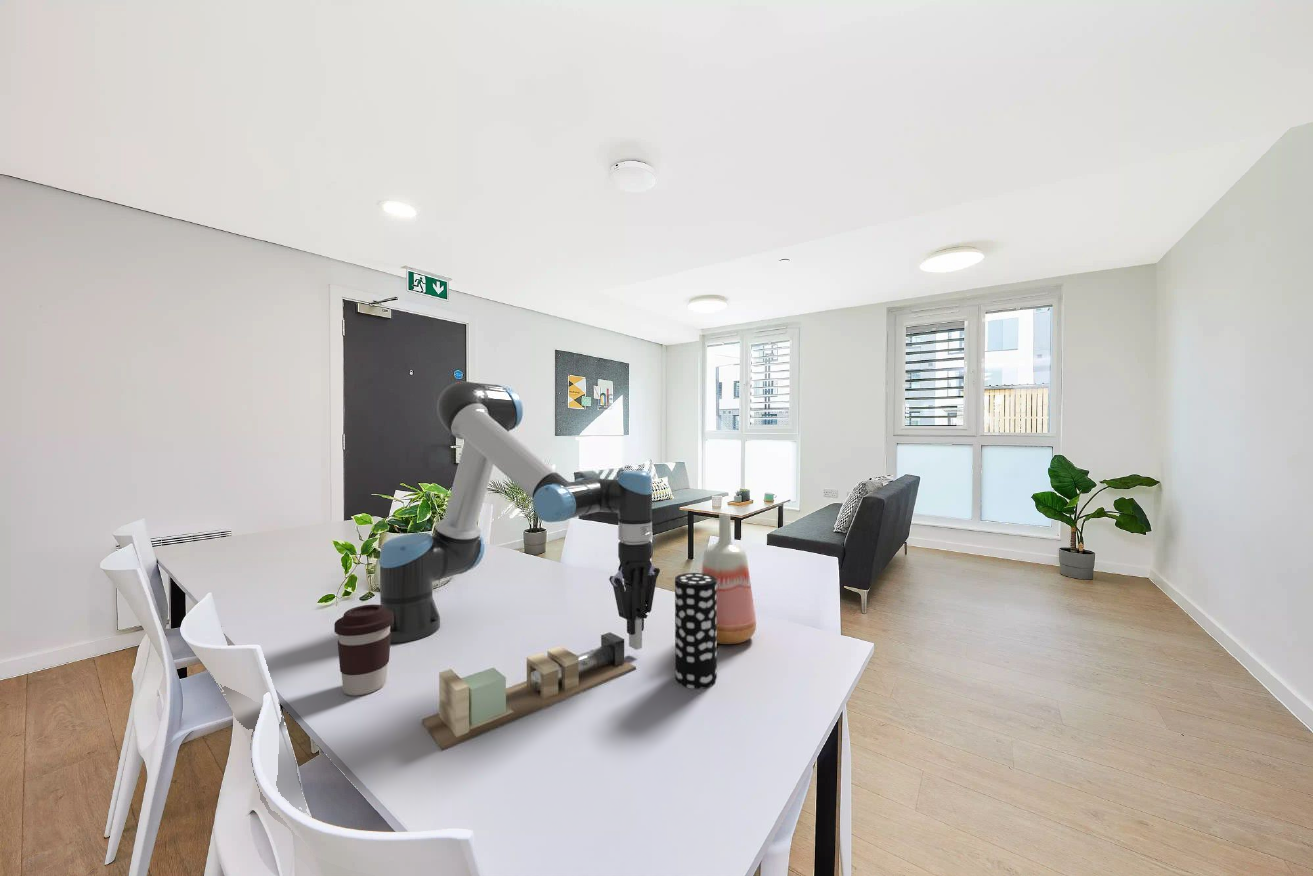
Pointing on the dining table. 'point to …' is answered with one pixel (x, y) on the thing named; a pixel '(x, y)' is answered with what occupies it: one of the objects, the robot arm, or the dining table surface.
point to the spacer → (486, 695)
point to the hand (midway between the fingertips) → (635, 647)
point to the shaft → (592, 658)
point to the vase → (730, 587)
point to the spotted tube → (696, 630)
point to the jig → (514, 695)
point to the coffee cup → (364, 648)
